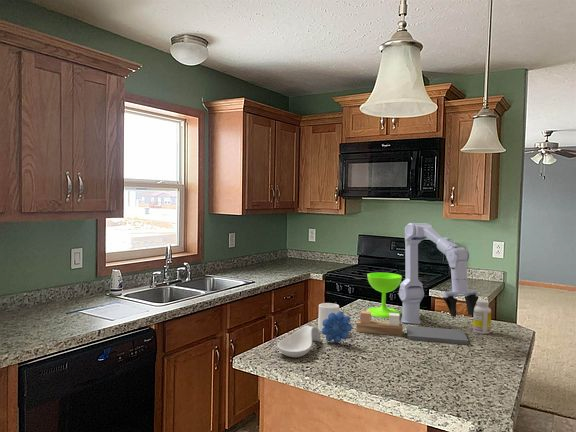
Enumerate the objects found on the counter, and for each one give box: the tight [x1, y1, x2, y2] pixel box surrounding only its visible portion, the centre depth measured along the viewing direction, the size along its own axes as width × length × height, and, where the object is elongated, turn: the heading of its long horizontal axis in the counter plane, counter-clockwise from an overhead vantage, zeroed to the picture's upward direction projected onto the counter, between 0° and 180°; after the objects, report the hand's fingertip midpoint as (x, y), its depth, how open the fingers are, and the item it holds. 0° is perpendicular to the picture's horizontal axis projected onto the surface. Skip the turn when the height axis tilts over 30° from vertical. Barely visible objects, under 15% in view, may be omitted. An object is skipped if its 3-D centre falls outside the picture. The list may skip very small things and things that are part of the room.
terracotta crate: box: [359, 310, 372, 324], centre depth 186 cm, size 4×4×4 cm
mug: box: [317, 302, 340, 333], centre depth 187 cm, size 12×8×10 cm
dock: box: [406, 325, 469, 346], centre depth 180 cm, size 14×22×2 cm, turn 77°
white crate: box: [388, 313, 400, 326], centre depth 183 cm, size 4×4×4 cm
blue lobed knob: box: [321, 311, 353, 344], centre depth 170 cm, size 12×7×12 cm, turn 70°
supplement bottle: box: [472, 299, 492, 335], centre depth 187 cm, size 7×7×13 cm
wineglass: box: [366, 272, 403, 319], centre depth 214 cm, size 16×16×18 cm
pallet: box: [356, 319, 403, 337], centre depth 185 cm, size 5×18×4 cm, turn 77°
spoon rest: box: [276, 325, 322, 358], centre depth 162 cm, size 24×12×7 cm, turn 154°
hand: (462, 315), depth 172 cm, fingers open, 7 cm apart
